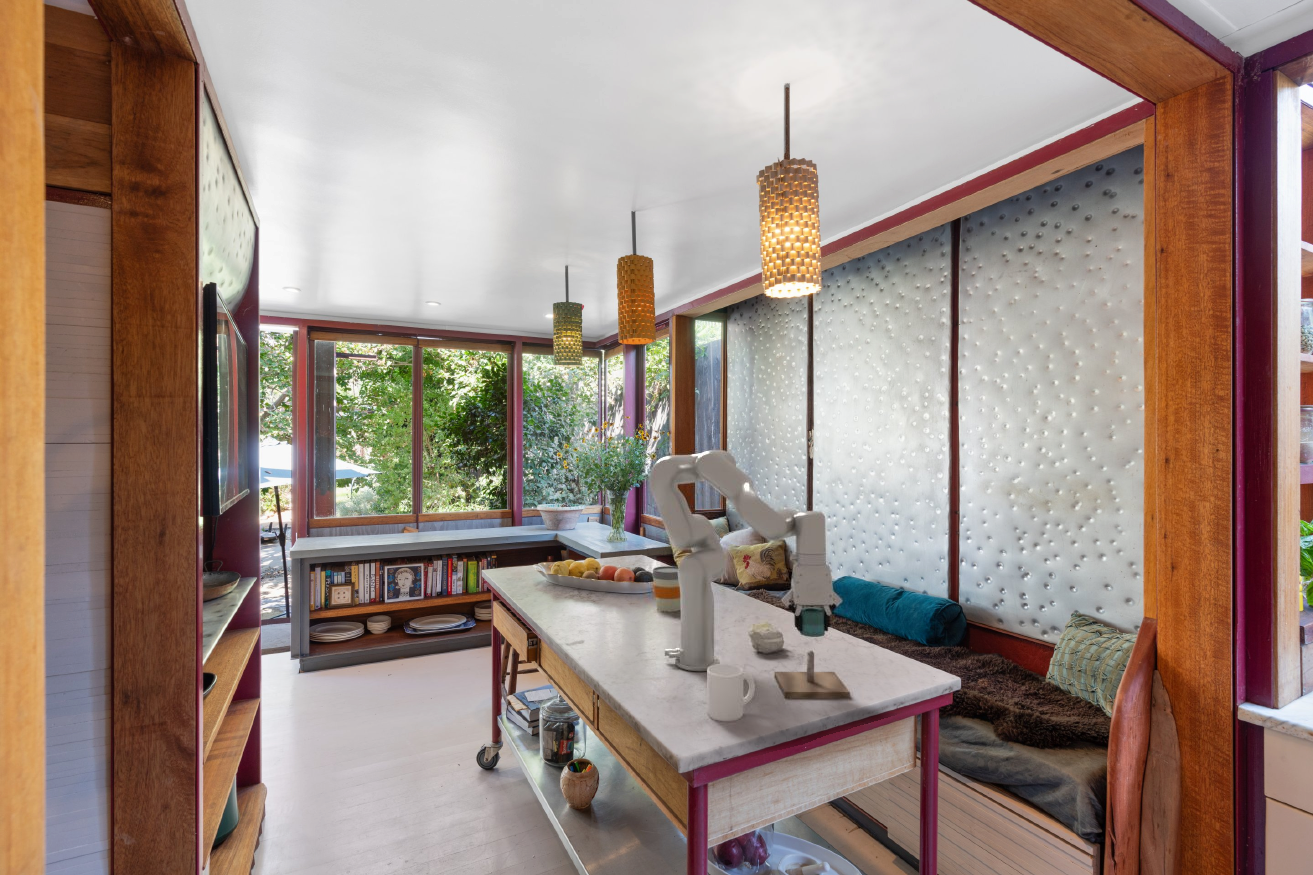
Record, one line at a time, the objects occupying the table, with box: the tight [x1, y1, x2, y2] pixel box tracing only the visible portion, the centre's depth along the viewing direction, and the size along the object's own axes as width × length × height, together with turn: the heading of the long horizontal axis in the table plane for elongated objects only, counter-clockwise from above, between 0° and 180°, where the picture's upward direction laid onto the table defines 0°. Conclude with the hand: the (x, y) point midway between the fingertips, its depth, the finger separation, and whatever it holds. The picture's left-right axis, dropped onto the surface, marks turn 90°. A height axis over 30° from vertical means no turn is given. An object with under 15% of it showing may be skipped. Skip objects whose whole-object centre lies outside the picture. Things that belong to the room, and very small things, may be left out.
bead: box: [799, 606, 826, 638], centre depth 163 cm, size 6×6×6 cm
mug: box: [706, 663, 756, 723], centre depth 147 cm, size 12×8×10 cm
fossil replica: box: [747, 621, 785, 654], centre depth 192 cm, size 12×8×10 cm
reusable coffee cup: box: [651, 565, 681, 613], centre depth 241 cm, size 12×13×15 cm
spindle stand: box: [773, 650, 851, 699], centre depth 163 cm, size 16×14×9 cm
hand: (812, 629), depth 163 cm, fingers closed on bead, 6 cm apart
